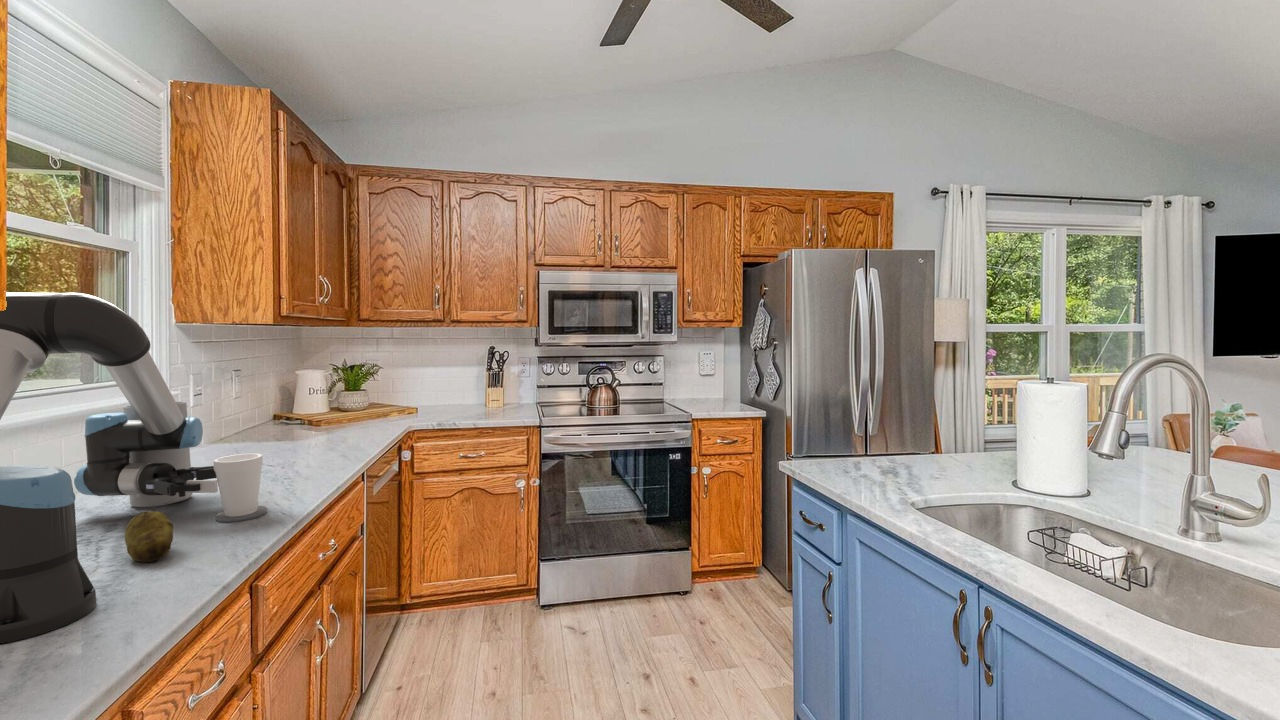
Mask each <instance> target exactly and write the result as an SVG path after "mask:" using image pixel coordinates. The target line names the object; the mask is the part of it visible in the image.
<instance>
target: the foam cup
mask: <svg viewBox="0 0 1280 720" xmlns="http://www.w3.org/2000/svg"><path fill="white" fill-rule="evenodd" d="M212 462H213V466H214V471H215V473H216V477H217V478H216V480H217V485H218V491H219V495H220V499H221V500H220V501H221V504H222V508H223V511H224V512H225V515H226V516H242V515H247V514H251V513H253V512H256V511H257V507H258V506H259V496H260V485H261V478H262V477H261V476H262V466H263V465H264V464H263V462H264V461H263V454H261V453H239V454H231V455H227V456H221V457H218V458H215V459H214V460H212Z"/></svg>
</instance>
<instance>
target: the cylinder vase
mask: <svg viewBox="0 0 1280 720" xmlns="http://www.w3.org/2000/svg"><path fill="white" fill-rule="evenodd" d="M175 402H176V403H177V405H178V407H179V409H180V411H181V413H182V414H183V416H184V417H188V405H187V402H186V401H175ZM122 409H123V411H122V412H123V413H125V414H126V415H127V418H128V420H140V419H139V417H138V416H137V414H136V413H135V411H134V410H133V408H132V407H131V405H125V406H123V407H122ZM190 449H191V448H182V449H170V450H153V451H139V452H130V458H129V463H169V464H171V465H173V466H174V467H175V469H176V470H178V469H189V468H191V467H192V463H191V462H192V461H191V453H190V452H191V450H190ZM185 494H186V496H184V497H179V493H176V495H174V496H168V495H142V496H141V497H139V498H138V497H136V495H129V503H130V506H132V507H135V508H151V507H159V506H165V505H171V504H175V503H179V502H183V501H185V500H189V499H190V498H191V497H192V496H193V494H194V493H187V491H185Z"/></svg>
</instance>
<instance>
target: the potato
mask: <svg viewBox="0 0 1280 720" xmlns="http://www.w3.org/2000/svg"><path fill="white" fill-rule="evenodd" d="M173 539H174V526H173V522H172V521H171V520H170V519H169V518H168V516H167V514H166V513H165V512H162V511H159V510H158V511H157V510H148V511H144V512H140V513H138V514H136V515H134V516H133V517H132V518H131V519H130V520H129V522H128V523H127V526H126V527H125V531H124V543H125V545H126V551H127V554H128V555H129V557H131V559H133V560H134V561H137V562H141V563H144V562H145V563H147V562H150V563H151V562H157V561H158V560H161V559H163V558H164V557H165V556H167V554H168V553H169V552H170V551H171V549H172V542H173Z"/></svg>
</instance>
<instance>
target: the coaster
mask: <svg viewBox="0 0 1280 720" xmlns="http://www.w3.org/2000/svg"><path fill="white" fill-rule="evenodd" d="M267 509H268V508H267V507H266V506H263V505H258V507H257V511H256V512H253V513H251V514H247V515H242V516H226V515H225V512H224V510H223V511H221V512H219V513H217V514H216V516H215V521H217V522H219V523H237V522H236V521H239V522H243V521H242V520H245V521H249V520H248V519H250V520H253V518H254V519H256V517H257V518H260V517H262V516H264V515H266V514H267V513H268V510H267ZM259 516H260V517H259Z"/></svg>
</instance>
